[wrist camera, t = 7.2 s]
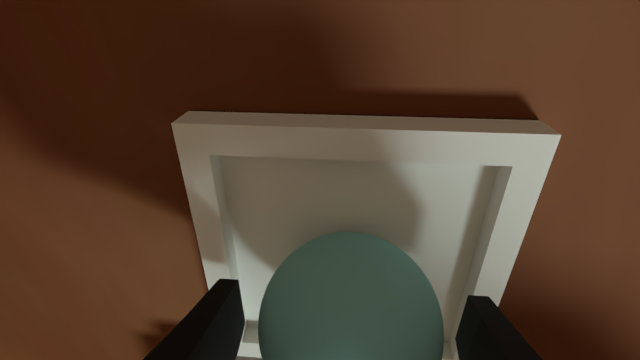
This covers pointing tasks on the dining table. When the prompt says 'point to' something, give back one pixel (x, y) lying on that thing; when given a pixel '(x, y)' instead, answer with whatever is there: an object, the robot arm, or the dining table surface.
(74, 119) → the dining table surface
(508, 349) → the robot arm
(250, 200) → the white tray
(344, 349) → the ball
